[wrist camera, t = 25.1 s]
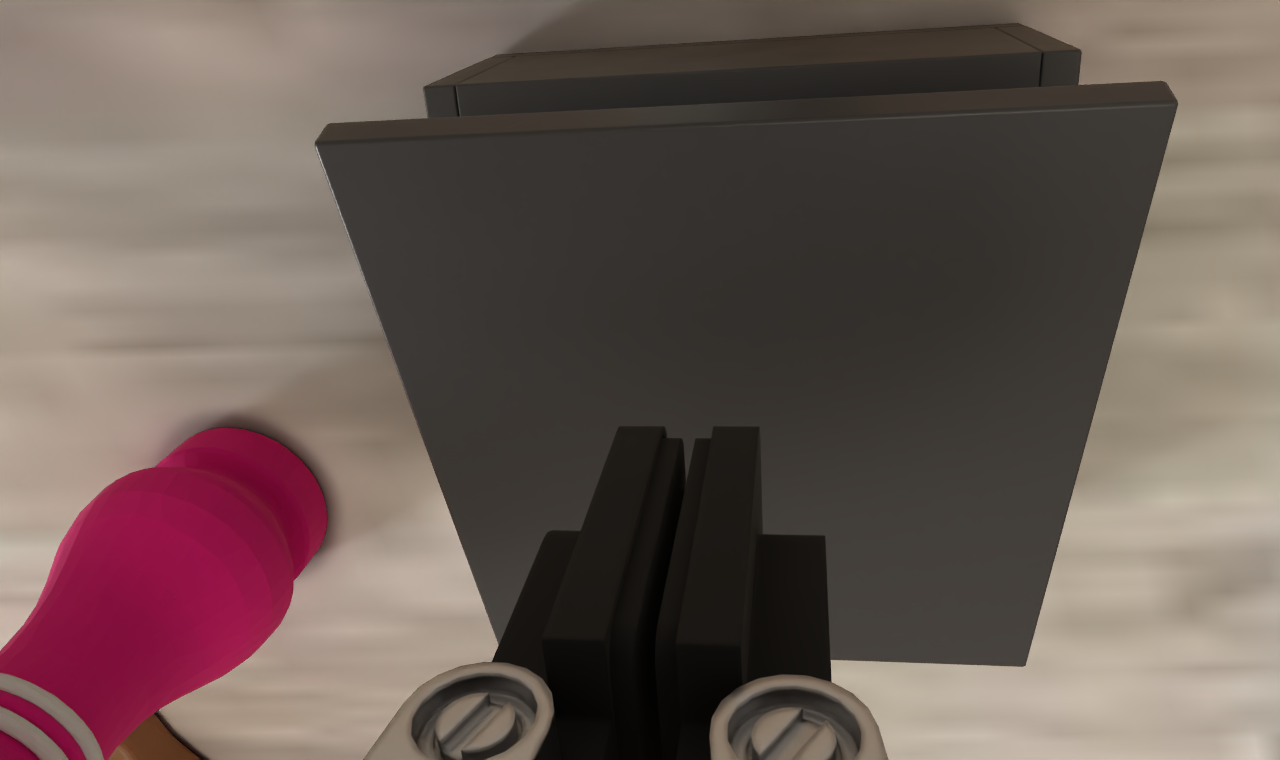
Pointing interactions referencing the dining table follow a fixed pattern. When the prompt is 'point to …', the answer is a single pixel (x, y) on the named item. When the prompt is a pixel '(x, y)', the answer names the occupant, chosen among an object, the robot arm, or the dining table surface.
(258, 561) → the pepper mill
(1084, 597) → the dining table surface
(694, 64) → the dark grey open box
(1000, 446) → the lid
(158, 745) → the plant
